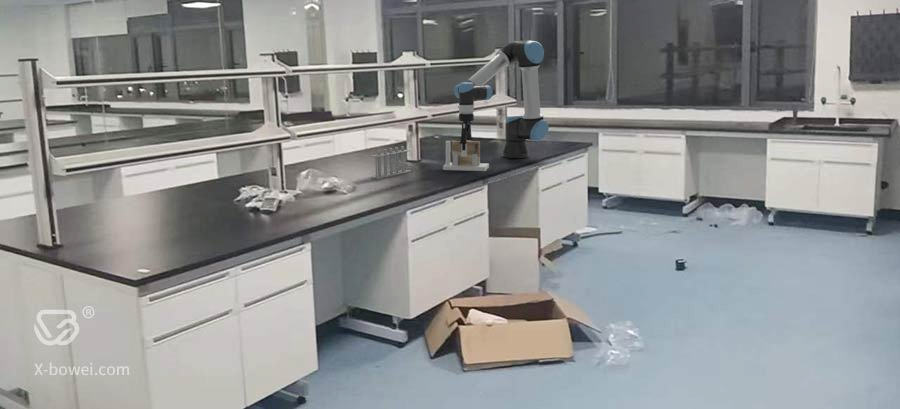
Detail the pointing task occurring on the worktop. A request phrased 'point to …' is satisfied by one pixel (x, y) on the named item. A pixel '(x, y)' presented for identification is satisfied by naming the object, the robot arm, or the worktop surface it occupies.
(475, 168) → the white holder stand
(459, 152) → the oak door
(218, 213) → the worktop surface
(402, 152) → the test tube rack
